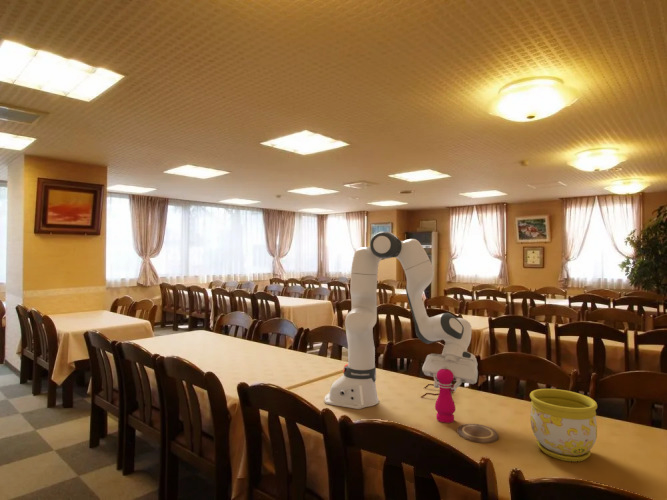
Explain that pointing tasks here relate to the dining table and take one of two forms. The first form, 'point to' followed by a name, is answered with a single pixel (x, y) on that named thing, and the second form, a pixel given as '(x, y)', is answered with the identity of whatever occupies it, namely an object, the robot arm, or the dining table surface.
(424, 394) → the glasses
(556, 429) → the flowerpot
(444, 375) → the pepper mill
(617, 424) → the dining table surface
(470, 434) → the coaster
